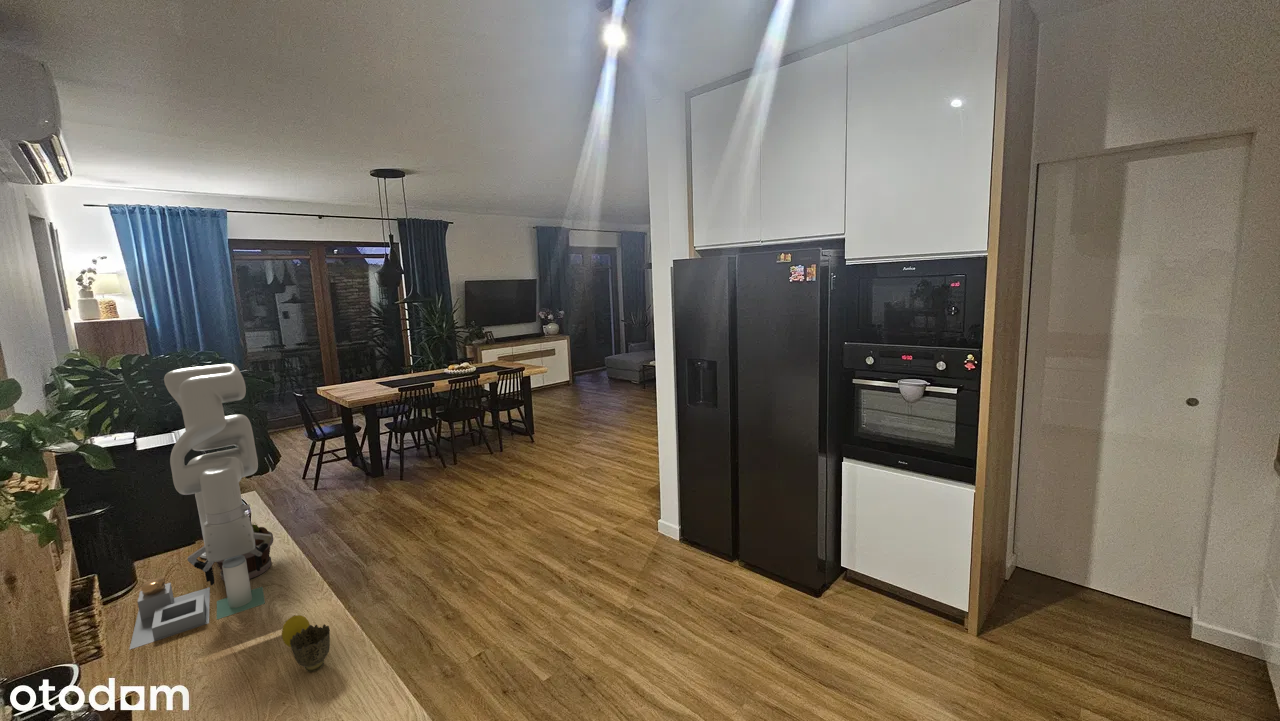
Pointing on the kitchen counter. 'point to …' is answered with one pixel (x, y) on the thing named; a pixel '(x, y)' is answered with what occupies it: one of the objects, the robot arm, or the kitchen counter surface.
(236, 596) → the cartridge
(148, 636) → the grey base with tray
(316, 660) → the spiky dark pot
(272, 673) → the kitchen counter surface
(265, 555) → the flowerpot
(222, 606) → the mat
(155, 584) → the plunger
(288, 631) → the lemon
